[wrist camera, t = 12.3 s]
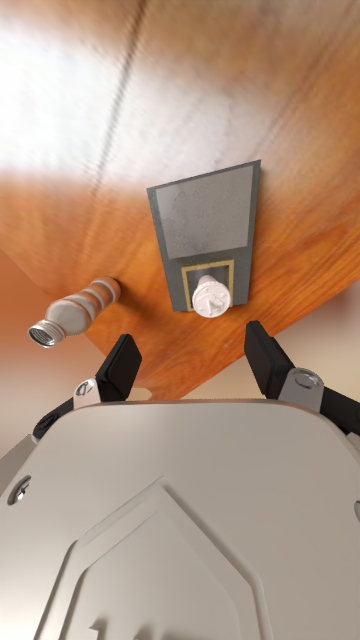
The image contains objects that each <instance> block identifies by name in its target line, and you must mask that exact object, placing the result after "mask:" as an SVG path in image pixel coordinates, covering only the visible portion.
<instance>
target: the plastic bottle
mask: <svg viewBox="0 0 360 640" xmlns="http://www.w3.org/2000/svg"><path fill="white" fill-rule="evenodd" d="M120 295H121V289H120V286H119V284H118V283H117V282H116V281H115V280H114V279H112V278H110V277H108V276H102V277H98V278H96V279H95V280H93V281H92V282H91V284H90V285H89V286H87V287H86V288H85V289H83V290H81V291H80V292H77V293H75V294H73V295H71V296H68V297H65V298H62V299H59V300H57V301H54V302H53V303H52V304H51V305H50V306H49V308H48V309H47V312H46V315H45V319H44V320H41V321H39V322H38V323H37V324H35V325H34V326H32V327H30V328H29V329H28V335H29V336H30V338H31V339H32V340H33V341H34V342H35V343H37V344H39V345H41V346H44V347H47V348H51V347H54V346H56V345H57V344H58V343H59V342H61V341H63V340H64V339H65V338H66V336H75V335H79V334H82V333H84V332H86V331H87V330H88V329H89V327H90V326H91V325H92V323H93V322H94V320H95V319H96V318H97V316H98V315H99V314H100V313H101V312H102V311H103V310H104V309H105V308H107V307H108V306H109V305H112V304H113V303H115V302H117V301H118V299H119V297H120Z"/></svg>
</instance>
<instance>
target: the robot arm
mask: <svg viewBox="0 0 360 640" xmlns="http://www.w3.org/2000/svg"><path fill="white" fill-rule="evenodd" d="M244 352H245V355H246V357H247V359H248V362H249V364H250V367H251V369H252V371H253V374H254V376H255V379H256V381H257V384H258V386H259V388H260V391H261V393H262V394H263V395H265V396H266V398H267V399H187V400H146V401H125V400H126V398H128V396H129V394H130V391H131V388H132V386H133V383H134V380H135V377H136V375H137V372H138V369H139V367H140V364H141V361H142V356H141V354H140V352H139V350H138V348H137V346H136V344H135V342H134V340H133V338H132V336H131V335H129V334H122V335H121V336H120V338H119V339H118V341H117V342H116V344H115V345H114V347H113V349H112V350H111V352H110V353H109V355H108V356H107V358H106V360H105V361H104V363H103V364H102V366H101V367H100V369H99V371H98V372H97V374H96V375H95V376H96V378H95V379H87V380H85V381H84V382H82V383H81V384H80V385H79V386H78V387H77V388H76V389H75V391H74V395H73V397H72V398H71V399H69V400H68V401H66V402H65V403H63V404H62V405H60V406H59V407H57V408H56V409H54V410H53V411H51V412H50V413H48V414H47V415H45V416H44V417H43V418H42V419H41V420H40V421H39V422H38V423H37V425H36V426H35V428H34V431H33V434H32V435H31V434H28V435H27V436H26V437H25V438H24V439H23V440H22V441H21V442H19V444H17V445H16V446H15V447H14V448H13V449H12V450H10V451H9V452H8V453H7V454H6V455H5V456H4V457H3V458H2V459H0V640H360V403H359V402H357V401H354V400H353V399H350V398H348V397H346V396H344V395H342V394H340V393H338V392H336V391H334V390H331V389H329V388H327V387H325V386H324V383H323V381H322V379H321V378H320V377H319V376H318V375H317V374H315V373H314V372H312V371H310V370H307V369H304V368H296V367H295V366H294V364H293V363H292V362H291V360H290V359H289V357H288V356H287V355H286V353H285V352H284V351H283V349H282V348H281V347H280V345H279V344H278V342H277V341H276V340H275V339H274V337H269V335H268V334H267V332H266V331H265V329H264V328H263V326H262V325H261V324H260V322H259V321H258V320H256V321H249V323H247V324H246V334H245V345H244ZM355 502H356V503H355Z"/></svg>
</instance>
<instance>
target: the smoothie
mask: <svg viewBox="0 0 360 640" xmlns="http://www.w3.org/2000/svg"><path fill="white" fill-rule="evenodd" d="M192 301H193V307H194V309H195V311H196V312H197V313H198V314H200V315H201V316H204V317H209V318H212V317H217V316H219V315H221V314H223V313H224V312H225V311H226V310H227V309H228V307H229V305H230V302H231V296H230V293H229V290H228V289H227V287H226V286H225V285H223V284H222V283H219V282H218V281H217V280H216V279H215V278H214V277H212V276H211V275H204V276H203V277H201V278H200V280H199V283H198V286H197V289H196V291H195V292H194V295H193V300H192Z"/></svg>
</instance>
